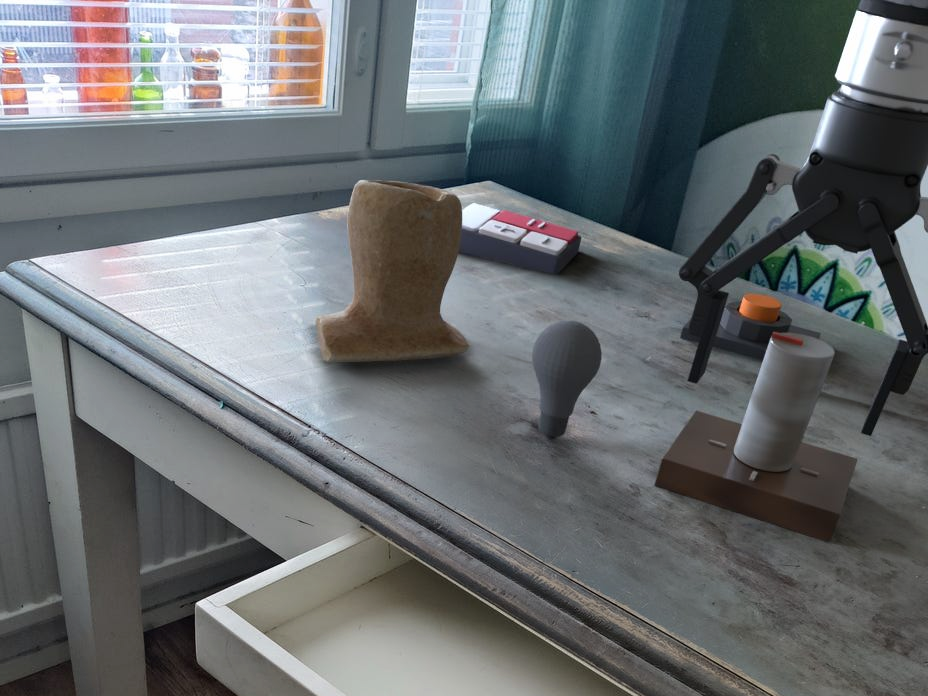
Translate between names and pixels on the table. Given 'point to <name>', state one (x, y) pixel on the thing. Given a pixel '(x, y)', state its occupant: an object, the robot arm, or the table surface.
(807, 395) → the dial
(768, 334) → the button block
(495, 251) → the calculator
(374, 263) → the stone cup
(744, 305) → the plunger
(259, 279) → the table surface
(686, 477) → the dial panel
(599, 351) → the light bulb
